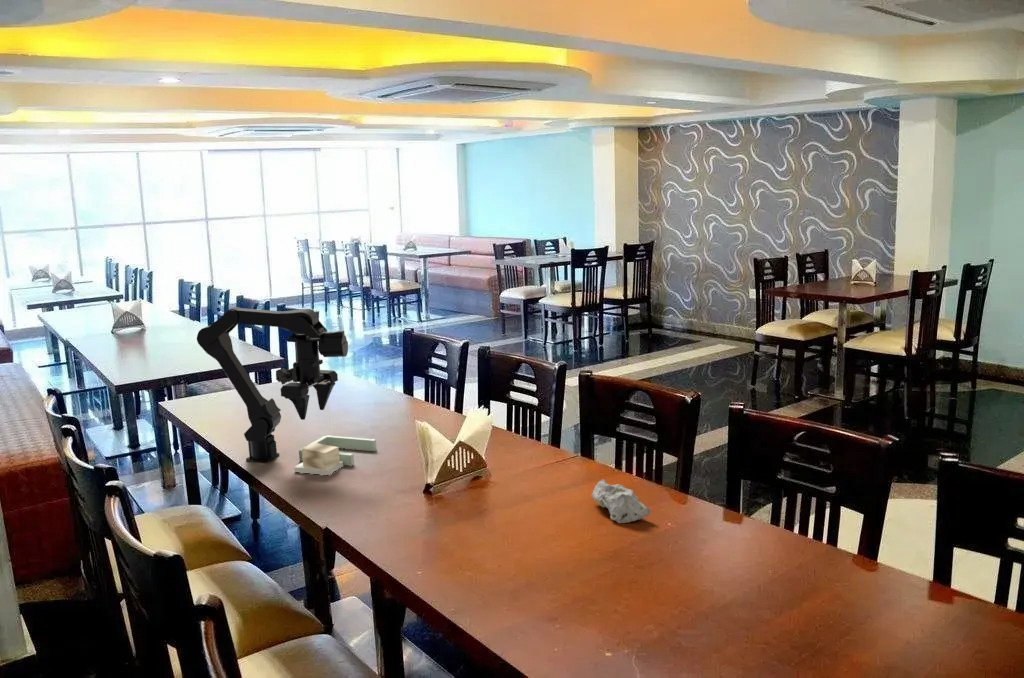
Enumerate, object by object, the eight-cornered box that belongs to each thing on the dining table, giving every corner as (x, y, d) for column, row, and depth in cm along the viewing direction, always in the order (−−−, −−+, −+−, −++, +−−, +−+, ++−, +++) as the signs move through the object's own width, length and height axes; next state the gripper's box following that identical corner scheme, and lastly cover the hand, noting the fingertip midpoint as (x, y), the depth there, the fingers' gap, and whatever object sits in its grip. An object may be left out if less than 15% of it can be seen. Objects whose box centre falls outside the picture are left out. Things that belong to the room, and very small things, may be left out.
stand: (294, 472, 208) (294, 467, 208) (309, 463, 215) (309, 458, 215) (328, 476, 205) (328, 470, 205) (343, 466, 212) (342, 461, 211)
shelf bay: (299, 461, 217) (298, 450, 216) (326, 445, 229) (325, 435, 229) (351, 466, 212) (351, 455, 211) (376, 449, 224) (375, 439, 224)
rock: (579, 505, 182) (579, 477, 181) (605, 498, 186) (605, 470, 185) (623, 529, 169) (623, 499, 168) (650, 521, 173) (650, 491, 172)
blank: (303, 465, 209) (301, 448, 208) (316, 459, 213) (315, 442, 213) (326, 470, 205) (325, 453, 204) (339, 463, 209) (338, 447, 209)
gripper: (301, 349, 225) (306, 403, 228) (260, 364, 208) (265, 422, 211) (336, 350, 222) (340, 405, 225) (297, 365, 204) (302, 425, 207)
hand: (312, 414), depth 217 cm, fingers open, 9 cm apart
